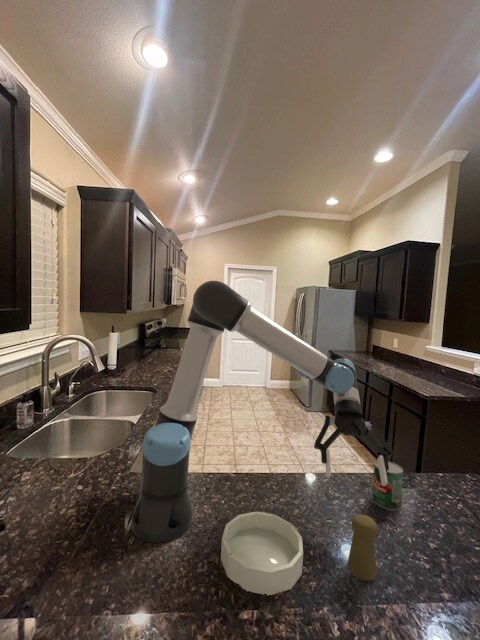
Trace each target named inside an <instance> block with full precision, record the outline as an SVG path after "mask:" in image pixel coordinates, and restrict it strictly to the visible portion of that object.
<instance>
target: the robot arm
mask: <svg viewBox="0 0 480 640" xmlns="http://www.w3.org/2000/svg"><path fill="white" fill-rule="evenodd" d="M187 324H188V326H189V332H188V335H187V338H186V340H185V344H184V348H183V349H182V350H183V351H182V354H181V357H180V361H179V364H178V367H177V370H176V374H175V377H174V380H173V383H172V386H171V389H170V392H169V396H168V399H167V402H166V403H165V404H163V405H161V406H160V408H159V411H158V414H157V417H156V421H155V423H154V426H152V427H150V428H149V429H148V430H147V431H146V432H145V435H144V438H143V442H142V463H141V479H140V481H141V483H140V494H139V497H138V498H137V502H136V504H135V507H134V510H133V511H132V515H131V524H130V525H131V528H130V529H131V531H132V533H133V535H134V536H135V537H136V538H138V539H139V540H140V541H141V540H142V541H143V542H147V543H153V544H160V543H161V544H162V543H166V542H171V541H174V540H176V539H179V538H180V537H182V536H183V535H184V534H186V532H188V531H189V529H190V527H191V526H192V523H193V515H194V514H193V512H194V511H193V506H192V502H191V499H190V495H189V491H188V482H189V480H188V479H189V467H190V466H189V465H190V452H191V450H190V449H191V442H192V441H191V440H192V436H193V434H194V430H195V427H196V423H197V420H198V415H197V413H196V412H195V409H196V406H197V403H198V400H199V396H200V393H201V390H202V386H203V383H204V380H205V377H206V373H207V371H208V368H209V366H210V365H209V364H210V361H211V358H212V355H213V351H214V348H215V344H216V341H217V338H218V337H219V335H222V334H223V333H224V332H225V330H227V331H229V332H230V333H231V332H236V333H238V334H240V335H242V336H243V337H245V338H246V339H248V340H250V341H252V343H254V344H256V345H258V346H259V347H261V348H262V349H264V350H265V351H267V352H269V353H271V354H272V355H274V356H275V357H277V358H279V359H280V360H281V361H283V362H285V363H286V364H287V365H289V366H291V367H293V368H295V369H296V373H297V375H298V376H299V377H302V378H305V379H308V380H311V381H313V382H314V383H316V384H318V385H320V386H322V387H324V388H325V389H327V390H328V391H330V392H332V393H333V403H334V416H335V417H334V418H333V417H331V416H330V415H328V414H327V415H326V416H325V418H324V422H323V423H324V424H323V426H322V428H321V430H320V432H319V433H318V436H317V438H316V439H315V442H314V444H313V448H314V449H315V450H319V451H320V458H321V459H320V461H321V463H322V464H324V465H325V475H326V479H329V480H330V478H331V476H332V469H331V456H330V449H329V447H331V445H332V444H333V443H334V442H335V441H336V440H337V438H338V437H340V436H341V435H342V434H343V435H344V436H347V437H348V436H350V437H355V438H356V437H359V438H360V440H362V441H363V442H364V443H365V444H366V445H367V446H368V447H369V448H370V449H371V450H372V451H373V452H374V453H375V454H376V456H378V457H377V459H376V461H378V466H379V472H380V478H381V484H382V486H385V485H386V484H387V483H388V480H387V474H386V471H388V470H389V465H388V459H389V458H391V457H392V456H393V455H394V450H393V449H392V448H391V446H390V444H389V443H388V441H387V440H386V439H385V437H384V436H383V435H382V433H381V432H380V430H379V429H378V427H377V424H376V421H375V420H373V419H371V420H370V421H365V420H364V418H363V413H362V405H361V399H360V394H359V393H360V392H359V388H358V379H357V371H356V367H355V365H354V363H353V361H351V360H350V359H347V358H337V359H335V360H333V359H332V358H330V357H329V356H327V354H324V353H323V352H321V351H320V350H318V349H317V348H315V347H313V346H312V345H310V344H309V343H307V342H306V341H304V340H303V339H301V338H300V337H298V336H297V335H294V334H293V333H292V332H290V331H289V330H287V329H286V328H284V327H282V326H281V325H279V324H278V323H276V322H275V321H273V320H272V319H270V318H269V317H268V316H265V315H264V314H262V312H260V311H258V310H256V309H255V308H253V307H252V306H251V301H249V300H248V299H246V298H245V297H243V295H240V293H239V292H236V291H235V290H234V289H233V288H232V287H230V286H229V285H227V284H226V283H225V282H222V281H218V280H208V281H205V282H203V283H201V284H200V285H199V286H198V287H197V288H196V290H195V292H194V294H193V297H192V305H191V308H190V311H189V315H188V318H187ZM333 425H334V426H335V427H336V429H335V430H334V431H333V433H332V434H331V435H330V436H329V437H327V439H326V440H325V441H324V442H323V443H322V441H323V439H324V437H325V436H326V434H327V431H328V429H329V427H330V426H333ZM365 428H367V430H368V431H369V432H370V433H371V435H372V436H373V437H372V436H371V435H370V434H369V432H367V430H366V429H365Z"/></svg>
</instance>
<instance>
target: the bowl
mask: <svg viewBox="0 0 480 640" xmlns="http://www.w3.org/2000/svg"><path fill="white" fill-rule="evenodd" d="M220 545H221V547H220V549H221V551H220V561H221V563H222V566H223V568H224V571H225V573H226V576H227V578H229V579H230V580H231V581H232V582H234V584H236V583H237V584H239V585H240V586H241V587H242V588H241V587H240V586H239V585H238V586H239V587H240V588H241V589H243V590H244V589H245V590H246V591H245V590H244V591H245V592H249V591H250V593H255V594H260V595H264V594H267V595H266V596H269V595H271V596H273V594H274V595H277V594H280V593H282V591H283V592H286V591H289V590H292V589H293V587H294V586H295V584H296V583H297V581H299V579H300V577H302V575H303V565H304V564H303V562H304V561H303V560H304V548H303V536H302V535H301V534H300V533H299V531H298V530H297V529H296V528H295V526H294V525H293V524H292V523H291V522H289V521H287V520H286V519H284V518H282V517H280V516H278V515H276V514H274V513H268V512H262V511H252V512H246V513H242V514H241V513H240V514H238V515H237V516H235V517H234V518H233V519H231V520H230V521H229V522H227V523H226V524H225V527H224V530H223V534H222V538H221V544H220ZM237 584H236V585H237ZM279 592H280V593H279ZM276 593H277V594H276Z"/></svg>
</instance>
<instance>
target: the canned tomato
mask: <svg viewBox="0 0 480 640" xmlns="http://www.w3.org/2000/svg"><path fill="white" fill-rule="evenodd" d="M388 465H389V470H388V471H386V474H387V480H388V483H387V484H386V485H385V486H382V484H381V478H380V472H379V466H378V461H377V460H376V461H375V462H374V467H373V468H374V469H373V488H372V500H374V501H373V502H374V503H375V505H378V506H379V507H381V508H382V509H386V510H388V511H393V512H395V511H399V510H401V509H402V498H403V494H402V493H403V482H404V481H403V480H404V478H403V477H404V469H403V468H402V466H401V465H399V464H398V463H395V462H392V461H388Z"/></svg>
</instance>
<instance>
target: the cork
mask: <svg viewBox="0 0 480 640" xmlns="http://www.w3.org/2000/svg"><path fill="white" fill-rule="evenodd" d="M351 520H352V521H351V529H352V530H353V534H352V535H353V536H352V539H351V544H350V549H349V554H348V559H347V568H348V571H349V572H350V573H351V574H352V575H353V576H354V577H356V578H358V579H359V580H362V581H367V582H371V581H374V580H376V579H377V576H378V571H377V558H376V556H377V555H376V544H375V538H376V537H377V535H378V525H377V523H376V521H375V520H374V519H373V518H371V517H370V516H368V515H366V514H356V515H354V517H353V518H352V519H351Z"/></svg>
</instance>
